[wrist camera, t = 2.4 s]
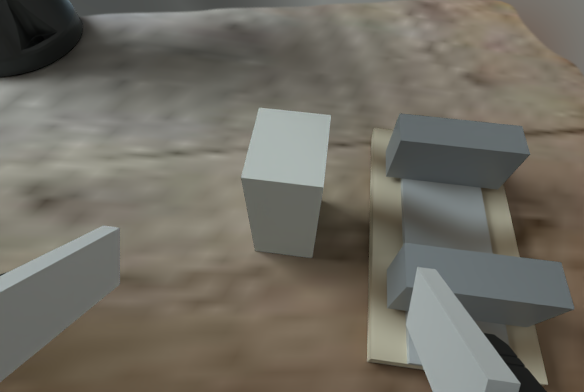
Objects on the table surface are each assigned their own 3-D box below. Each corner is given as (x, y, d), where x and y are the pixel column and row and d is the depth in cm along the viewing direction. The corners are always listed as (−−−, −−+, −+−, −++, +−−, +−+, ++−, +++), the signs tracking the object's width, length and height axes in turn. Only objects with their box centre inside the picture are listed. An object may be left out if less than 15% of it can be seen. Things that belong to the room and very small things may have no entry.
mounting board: (371, 137, 38) (375, 123, 36) (486, 150, 37) (496, 136, 35) (367, 361, 26) (372, 357, 24) (535, 386, 25) (553, 383, 24)
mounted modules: (385, 151, 34) (399, 113, 30) (492, 163, 33) (521, 126, 29) (387, 308, 26) (406, 286, 22) (527, 327, 26) (574, 309, 21)
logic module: (266, 193, 34) (259, 107, 25) (318, 199, 34) (330, 115, 24) (254, 250, 31) (241, 177, 21) (312, 258, 30) (323, 187, 21)
